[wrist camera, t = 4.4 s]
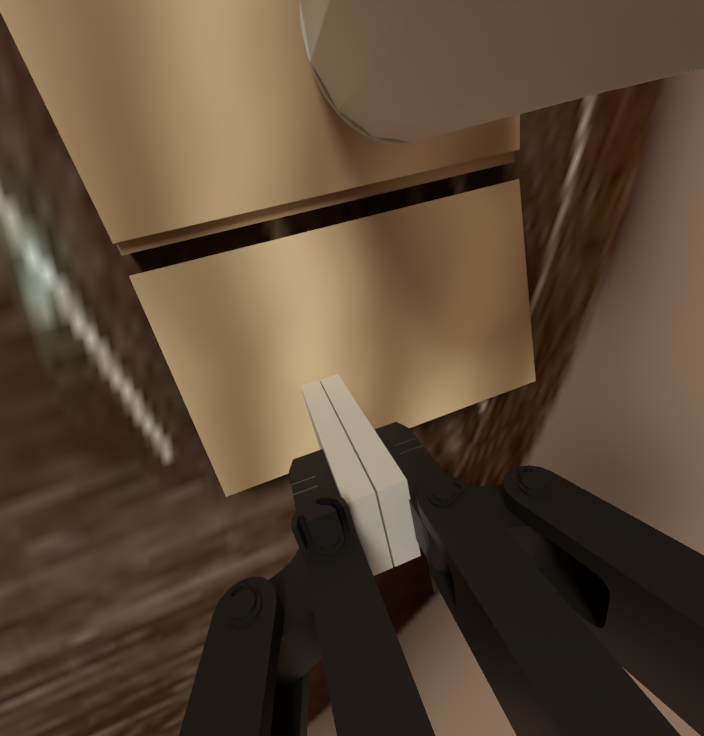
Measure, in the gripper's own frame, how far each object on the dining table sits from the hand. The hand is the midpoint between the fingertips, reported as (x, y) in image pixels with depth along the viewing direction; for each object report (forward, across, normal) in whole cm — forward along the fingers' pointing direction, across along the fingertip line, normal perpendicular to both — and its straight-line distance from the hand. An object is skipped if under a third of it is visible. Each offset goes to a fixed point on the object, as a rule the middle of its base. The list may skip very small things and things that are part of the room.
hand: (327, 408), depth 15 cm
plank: (+2, +3, +2) cm, 4 cm away
